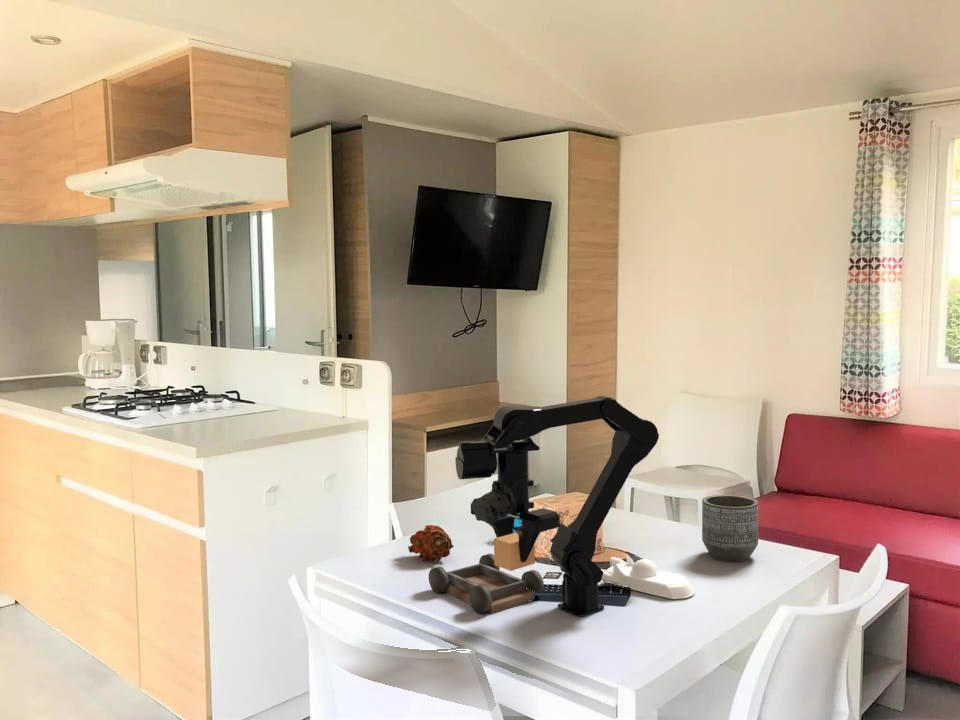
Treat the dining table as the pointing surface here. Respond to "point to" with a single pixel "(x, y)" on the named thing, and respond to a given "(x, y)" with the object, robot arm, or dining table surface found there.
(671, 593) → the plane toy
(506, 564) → the light orange rectangular block
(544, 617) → the dining table surface
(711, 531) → the planter
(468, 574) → the chassis
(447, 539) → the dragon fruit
